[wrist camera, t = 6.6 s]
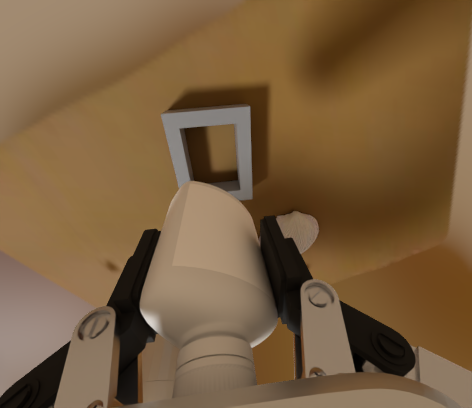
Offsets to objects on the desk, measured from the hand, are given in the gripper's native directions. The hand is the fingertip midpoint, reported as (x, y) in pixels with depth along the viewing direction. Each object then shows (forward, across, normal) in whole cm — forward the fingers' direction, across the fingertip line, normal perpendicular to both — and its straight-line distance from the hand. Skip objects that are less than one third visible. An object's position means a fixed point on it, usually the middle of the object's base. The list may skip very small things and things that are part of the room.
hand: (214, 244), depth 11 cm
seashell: (+17, -11, +16) cm, 26 cm away
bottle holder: (+17, 0, 0) cm, 17 cm away
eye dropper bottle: (+4, 0, 0) cm, 4 cm away
